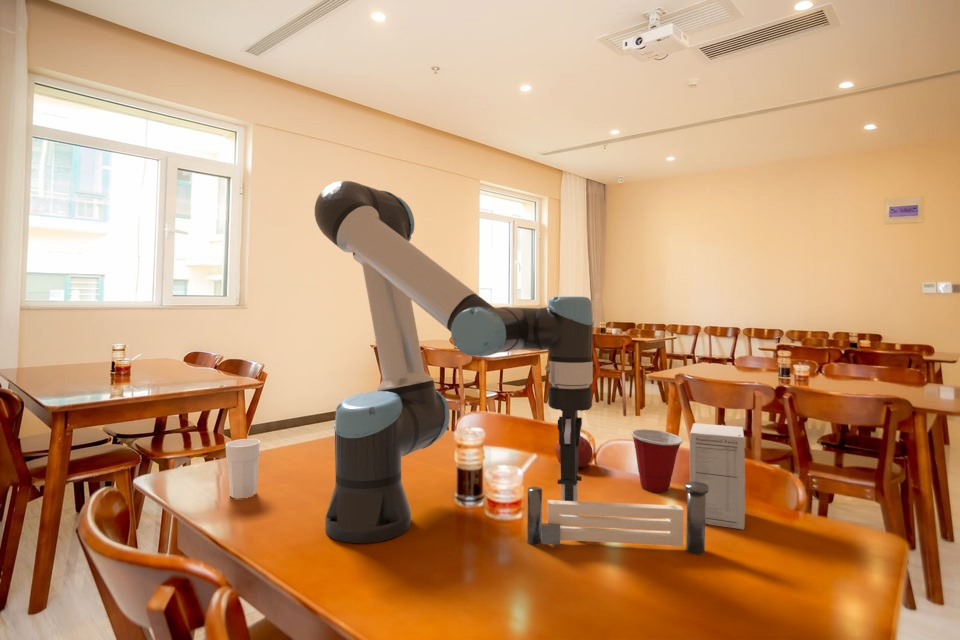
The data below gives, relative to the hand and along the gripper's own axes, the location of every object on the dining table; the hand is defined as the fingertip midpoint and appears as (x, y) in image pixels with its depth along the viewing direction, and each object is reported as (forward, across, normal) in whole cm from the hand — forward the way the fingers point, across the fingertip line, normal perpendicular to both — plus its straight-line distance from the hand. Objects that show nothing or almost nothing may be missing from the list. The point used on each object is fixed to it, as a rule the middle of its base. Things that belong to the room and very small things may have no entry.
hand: (569, 519), depth 94 cm
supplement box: (+3, -14, +26) cm, 30 cm away
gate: (+2, +3, +8) cm, 8 cm away
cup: (+3, -2, -68) cm, 68 cm away
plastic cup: (+3, -28, +17) cm, 33 cm away
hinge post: (+3, +1, +20) cm, 21 cm away
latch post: (+3, +5, -4) cm, 7 cm away
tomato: (+3, -40, -2) cm, 40 cm away
